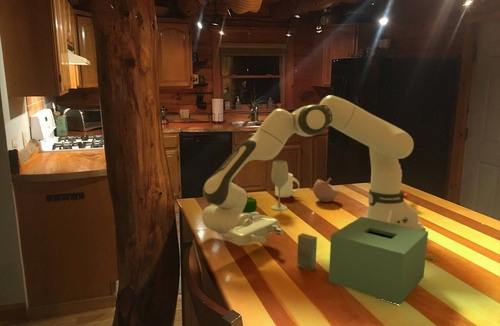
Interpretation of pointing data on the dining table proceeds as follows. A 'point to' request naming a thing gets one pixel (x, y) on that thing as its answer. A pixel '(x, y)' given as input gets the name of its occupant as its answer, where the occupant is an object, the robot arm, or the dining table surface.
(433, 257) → the dice set
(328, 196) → the mortar and pestle
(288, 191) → the mug
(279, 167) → the wineglass
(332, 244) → the coin box
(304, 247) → the brown upright bar
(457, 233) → the dining table surface
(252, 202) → the bell pepper
